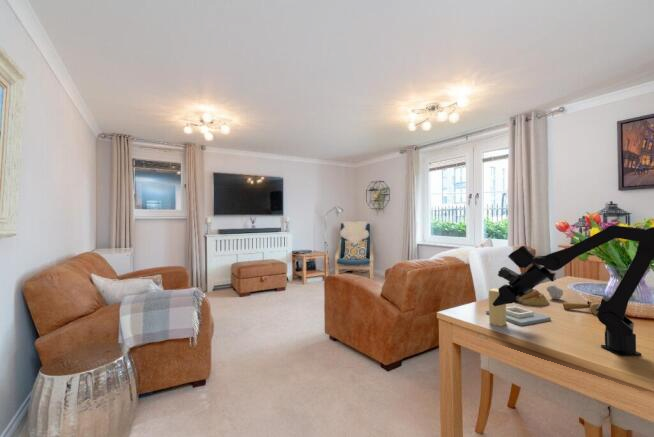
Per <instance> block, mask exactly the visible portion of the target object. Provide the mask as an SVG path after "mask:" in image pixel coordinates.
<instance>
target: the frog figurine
mask: <svg viewBox="0 0 654 437" xmlns="http://www.w3.org/2000/svg"><path fill="white" fill-rule="evenodd" d="M545 288H546V291H547V292H548V294H549V296H550V298H551V299H554V300H559V299H561V298H562V296H563V294H564V290H563V289H562V288H561V287H558V286H557V285H555V284H549V285H548V286H547V287H545Z"/></svg>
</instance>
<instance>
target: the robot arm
mask: <svg viewBox="0 0 654 437" xmlns="http://www.w3.org/2000/svg"><path fill="white" fill-rule="evenodd" d="M614 239H620V240H627V241H632V242H638V244H637V248H636V251H635V255H634V257H633V258H632V260H631V262H630V264H629V265H628V267H627V268H626V271H625V273H624V274H623V276H622V278H621V280H620V282H619V284H618V285H617V287H616V289H615V290H614V292H613V293H612V295H610V297H607V296H606V295H603V296H602V298H601V301H600V302H601V304H600V305H598V307H597V308H596V311H598V313H597V314H596V317H597V319H598V321H599V322H600V323H601V324H603V325H604V326H605V330H604V344H601V345H600V347H601V348H604V349H605V350H608V351H610V352H611V353H613V354H616V355H619V356H622V357H623V356H628V357H629V356H630V357H631V356H642V353H641V352H639V351H637V334H635V333H634V328H635V322H633V321H632V320H631V319H630V318H629V317H628V316H626V312H627V308H628V305H629V304H628V303H629V302H630V299H631V298H632V296H633V295H634V293H635V291H636V289H637V287H638V286H639V284H640V282H641V280H642V279H643V277H644V275H645V274H646V272H647V271H648V268H649V267H650V265H651V263H652V262H653V260H654V226H650V227H646V228H641V227H640V228H639V227H632V226H624V225H618V224H612V225H611V224H610V225H609V226H607V227H606V228H604V229H602V230H600V231H598V232H596V233H595V234H592V235H591V236H589V237H587V238H584V239H583V240H581V241H579V242H577V243H575V244H573V245H571V246H569V247H566V248H564V249H559V250H557V251H553V252H550V253H547V254H545V255H537V256H536V255H534V253H533V252H532V251H530V249H528V248H527V246H526V245H522V246H520V247H519V248H517V249H516V250H513V251H512V252H510V254H508V256H507V257H508V259H510V260H511V261H512V262H513V264H515V266H517V267H518V268H519V269H524V270H525V271H524V272H522V273H517V272H516V271H514V270H512V269H510V268H508V267H507V266H502V267H501V268H500V270H498V273H497V276H498V277H499V278H503V279H504V280H506V281H508V282H507V283H508V284H503V285H502V286H500V287H499V288H497V289H498V291H499V296H498V297H497V299H496V300H495V301H494V302H493V305H494V306H499V305H504V304H506V305H509V304H513V303H516V302H515V301H516V300H518V299H519V297H522V296H523V295H525V294H527V293H528V292H530V290H531V289H532V288H533V289H535V288H536V287H537V286H538V285H539V284H541V283H542V282H544V281H546V279H548V280H549V281H550V282H554V281H556V272H555V271H559V270H561V269H563V268H564V267H565V266H567V265H568V264H570V263H571V262H573V261H574V260H575V259H576V258H577V257H580V256H581V255H584V254H585V253H588V252H590V251H592V250H594V249H596V248H597V247H598V248H599V247H600V246H602V245H603V244H606V243H608V242H610V241H612V240H614ZM531 265H532V266H531ZM526 269H527V270H526ZM551 271H552V272H551Z"/></svg>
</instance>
